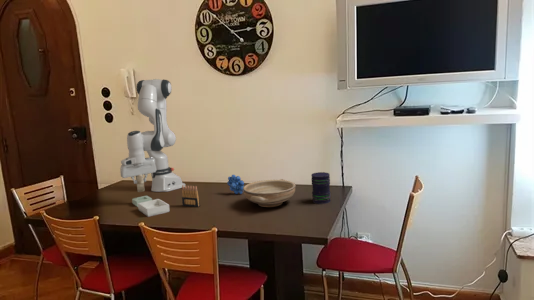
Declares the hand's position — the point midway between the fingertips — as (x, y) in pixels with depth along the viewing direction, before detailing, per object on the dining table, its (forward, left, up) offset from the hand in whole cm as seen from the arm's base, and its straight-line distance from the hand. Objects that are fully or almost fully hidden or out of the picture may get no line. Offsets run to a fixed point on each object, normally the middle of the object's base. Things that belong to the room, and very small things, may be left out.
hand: (140, 182), depth 244 cm
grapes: (-49, +25, -13) cm, 56 cm away
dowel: (0, 0, -5) cm, 5 cm away
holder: (0, 0, -13) cm, 13 cm away
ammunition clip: (-19, +27, -13) cm, 35 cm away
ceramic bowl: (-53, +56, -13) cm, 78 cm away
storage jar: (-75, +73, -13) cm, 105 cm away
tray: (0, +20, -13) cm, 24 cm away
